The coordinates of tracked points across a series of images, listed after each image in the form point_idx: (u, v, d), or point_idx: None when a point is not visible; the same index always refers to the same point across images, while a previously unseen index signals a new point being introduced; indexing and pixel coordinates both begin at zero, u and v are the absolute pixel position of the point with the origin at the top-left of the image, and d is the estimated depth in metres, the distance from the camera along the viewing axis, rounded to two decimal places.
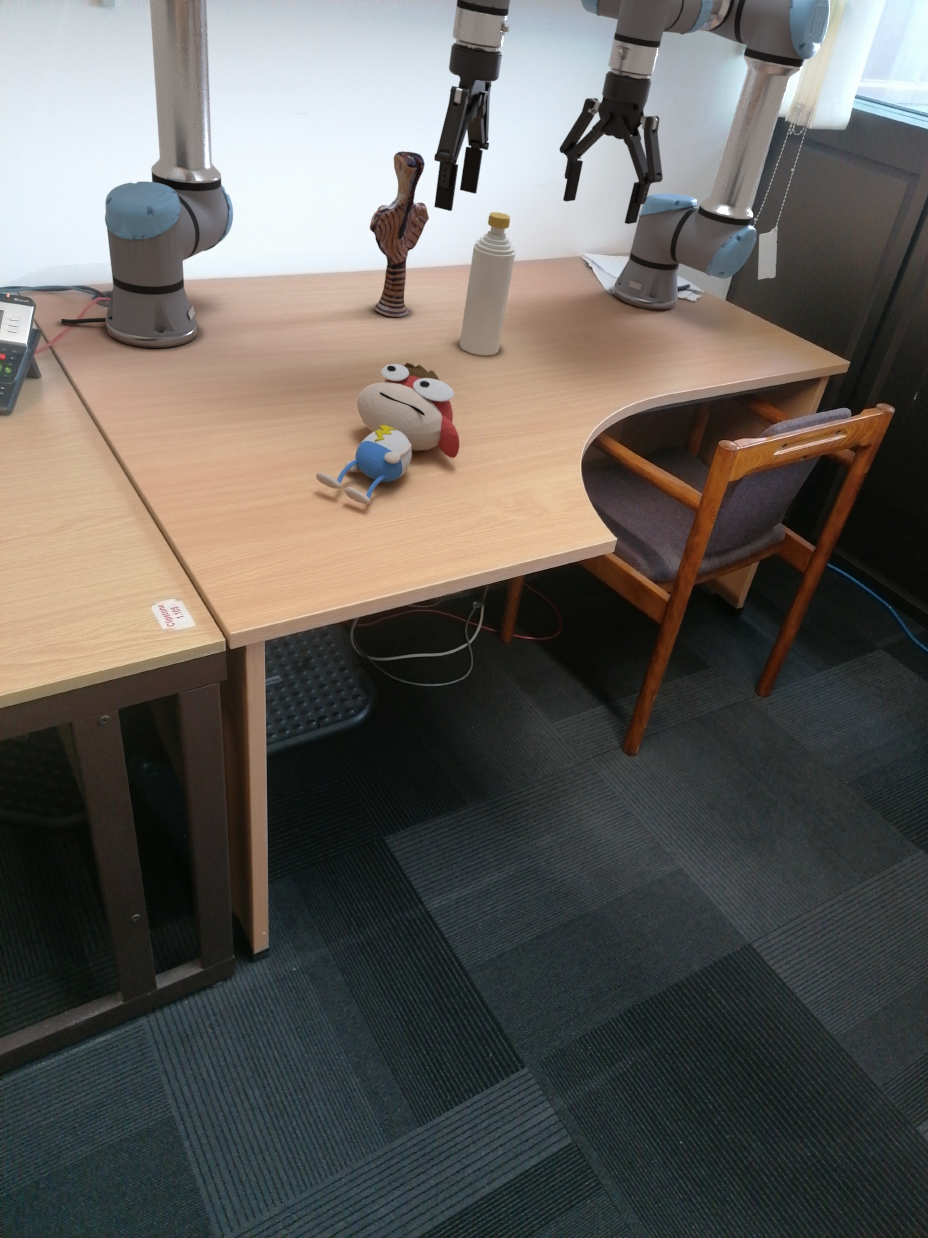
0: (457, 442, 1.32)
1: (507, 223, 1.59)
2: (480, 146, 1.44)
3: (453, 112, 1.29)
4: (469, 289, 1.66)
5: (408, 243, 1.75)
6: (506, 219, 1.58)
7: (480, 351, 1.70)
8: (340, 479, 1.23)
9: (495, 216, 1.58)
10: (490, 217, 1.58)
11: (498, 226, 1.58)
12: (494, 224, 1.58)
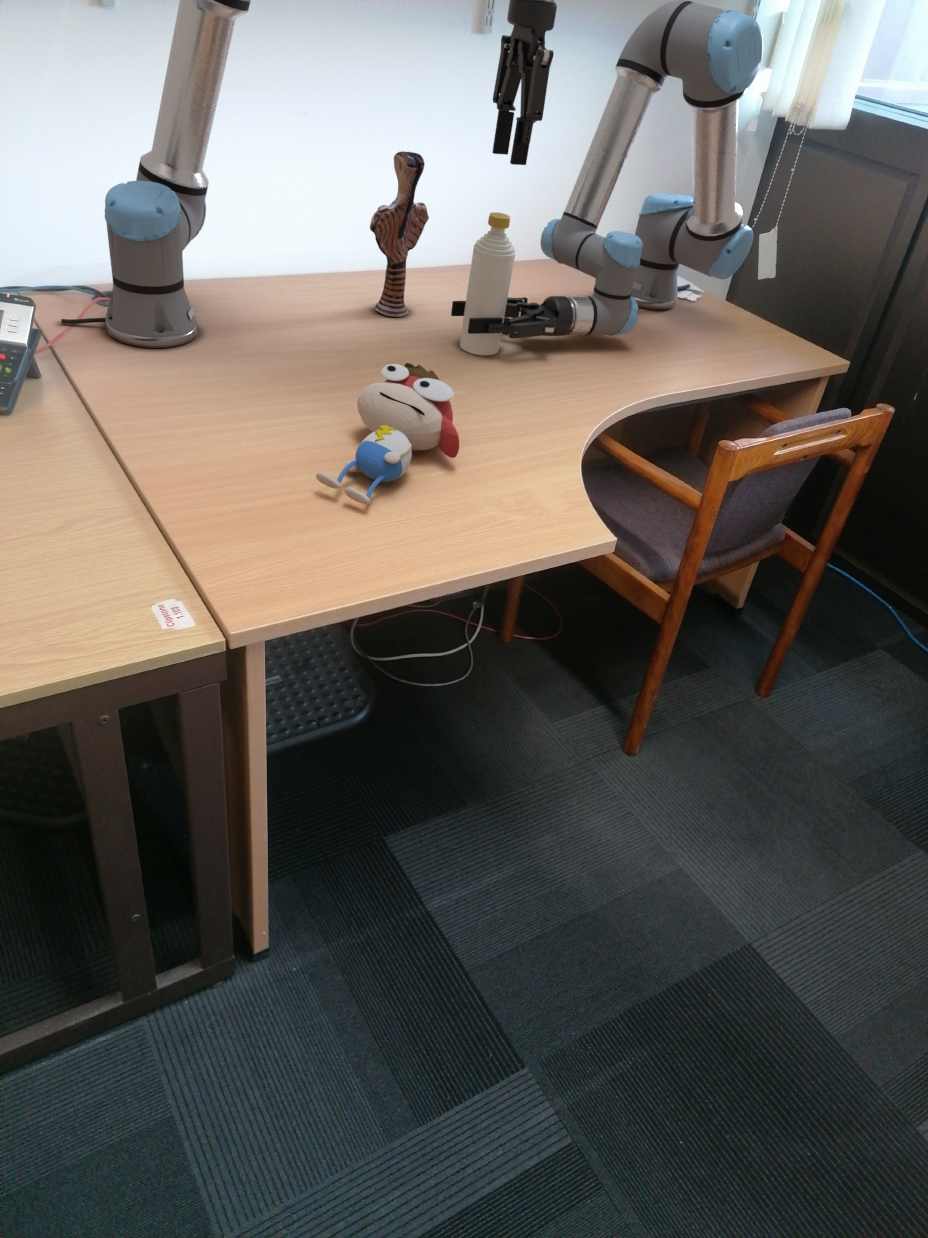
0: (457, 442, 1.32)
1: (507, 223, 1.59)
2: None
3: None
4: (469, 289, 1.66)
5: (408, 243, 1.75)
6: (506, 219, 1.58)
7: (480, 351, 1.70)
8: (340, 479, 1.23)
9: (495, 216, 1.58)
10: (490, 217, 1.58)
11: (498, 226, 1.58)
12: (494, 224, 1.58)
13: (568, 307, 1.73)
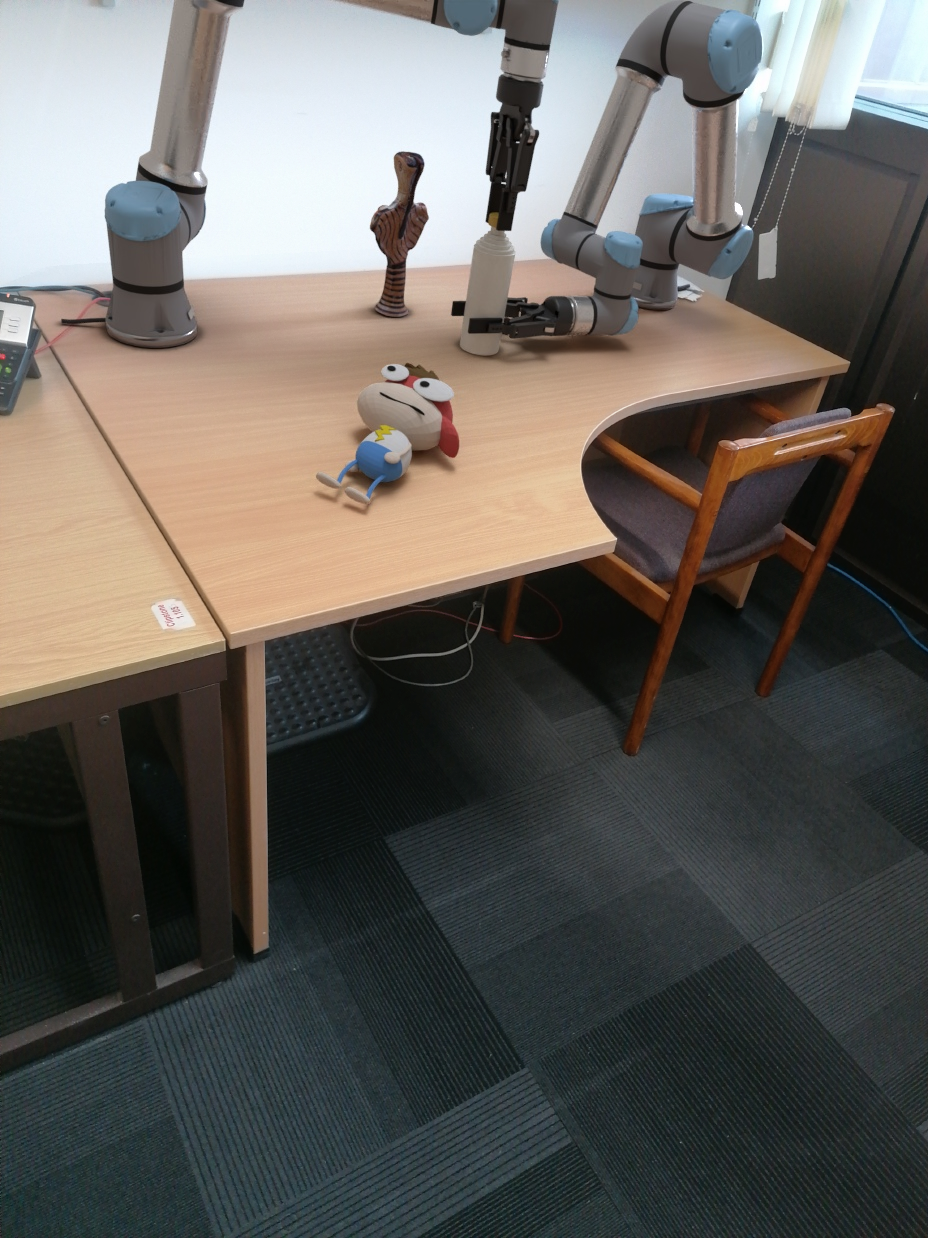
0: (457, 442, 1.32)
1: None
2: None
3: None
4: (469, 289, 1.66)
5: (408, 243, 1.75)
6: None
7: (480, 351, 1.70)
8: (340, 479, 1.23)
9: (495, 216, 1.58)
10: (490, 217, 1.58)
11: None
12: (494, 224, 1.58)
13: (568, 307, 1.73)
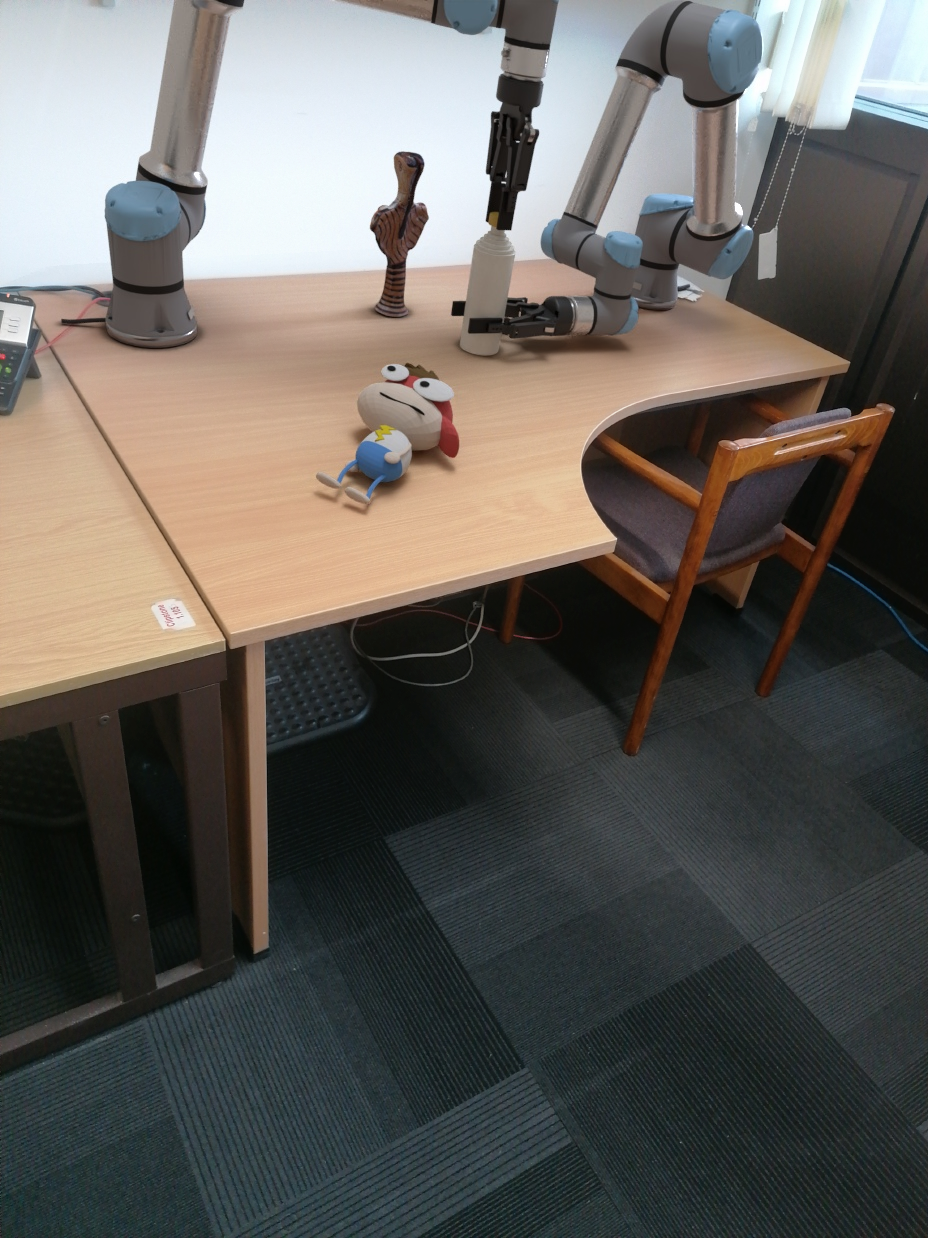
0: (457, 442, 1.32)
1: None
2: None
3: None
4: (469, 289, 1.66)
5: (408, 243, 1.75)
6: None
7: (480, 351, 1.70)
8: (340, 479, 1.23)
9: None
10: None
11: None
12: None
13: (568, 307, 1.73)
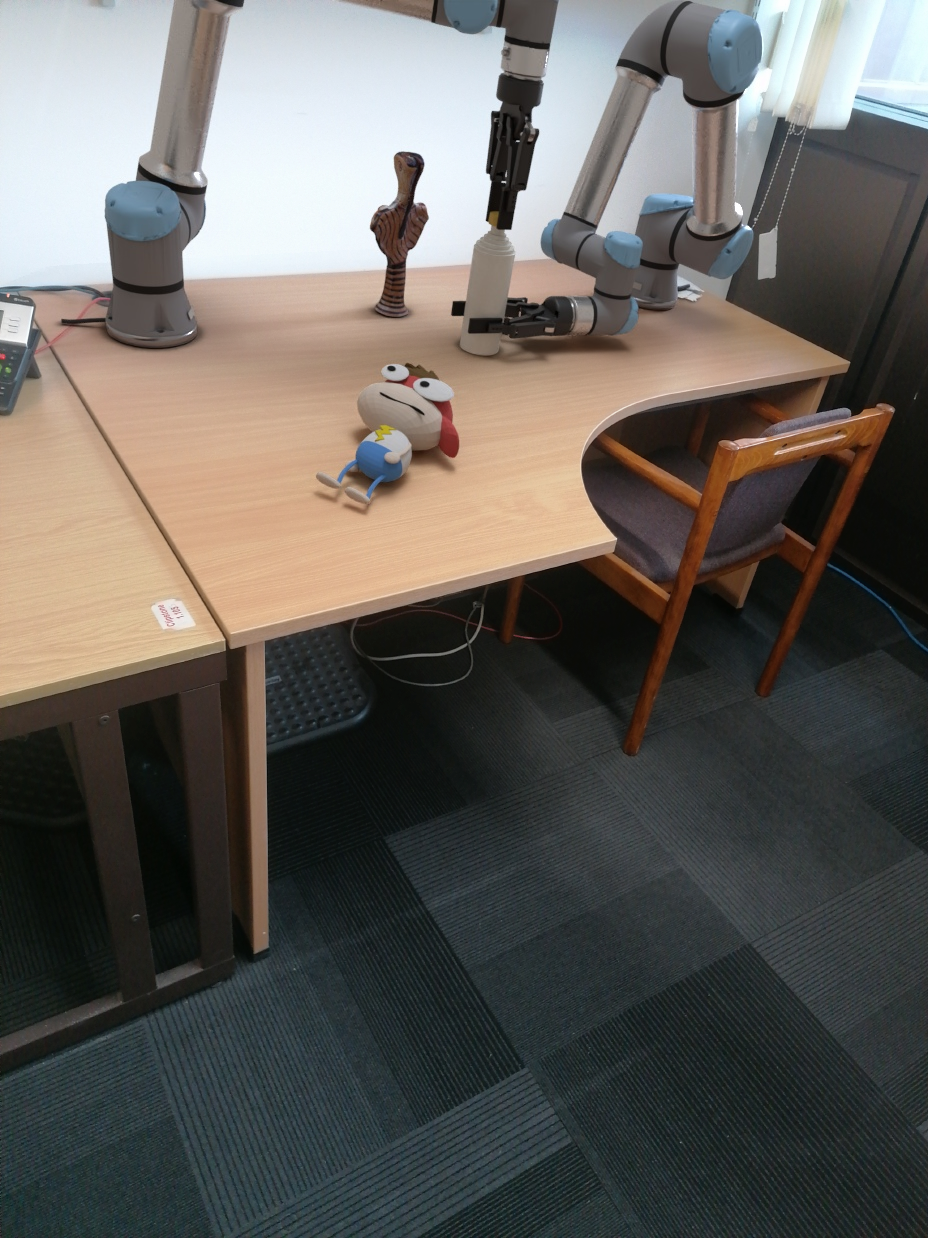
0: (457, 442, 1.32)
1: None
2: None
3: None
4: (469, 289, 1.66)
5: (408, 243, 1.75)
6: None
7: (480, 351, 1.70)
8: (340, 479, 1.23)
9: None
10: None
11: None
12: None
13: (568, 307, 1.73)
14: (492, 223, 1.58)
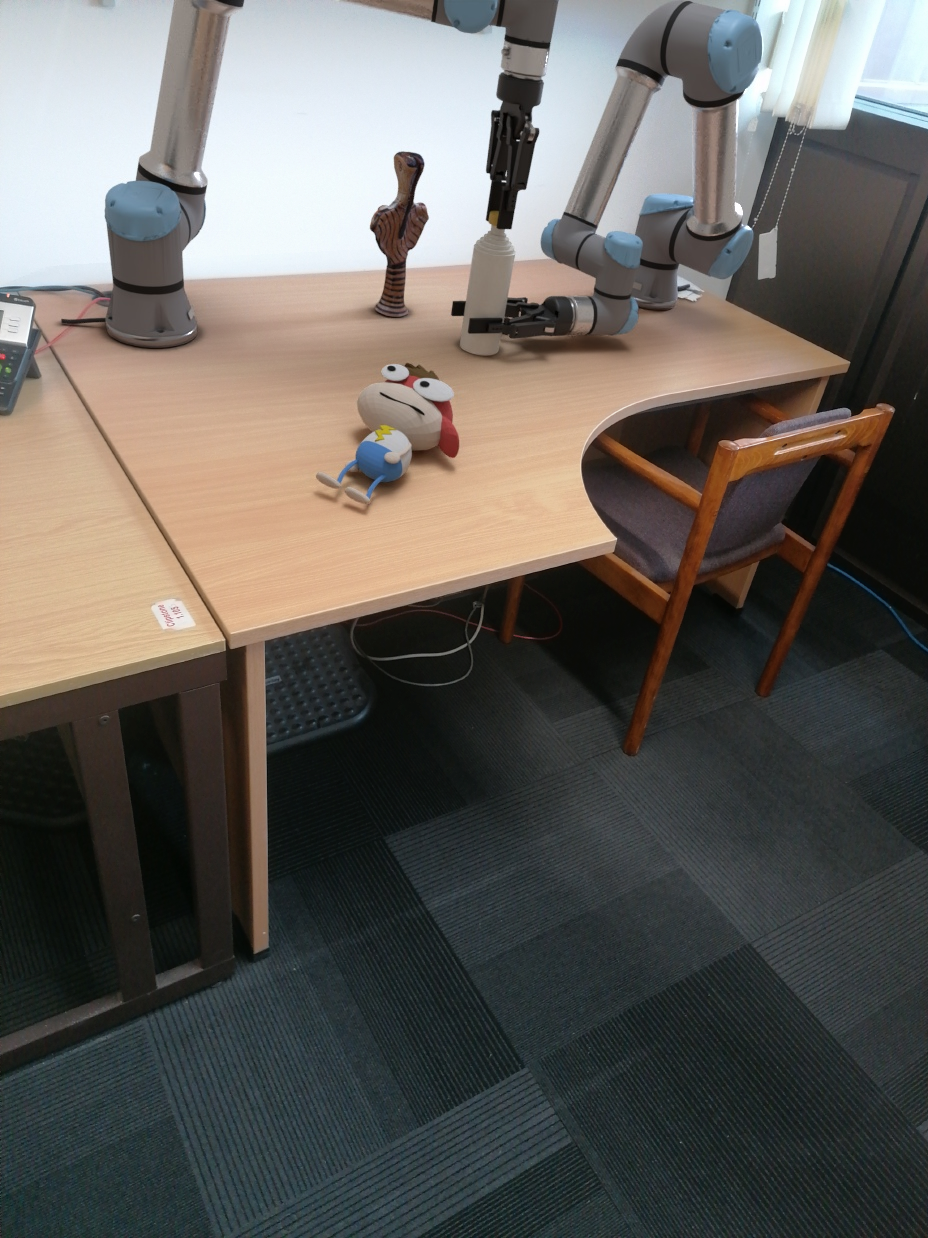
0: (457, 442, 1.32)
1: (491, 219, 1.58)
2: None
3: None
4: (469, 289, 1.66)
5: (408, 243, 1.75)
6: (490, 214, 1.58)
7: (480, 351, 1.70)
8: (340, 479, 1.23)
9: (495, 211, 1.59)
10: None
11: (489, 219, 1.60)
12: None
13: (568, 307, 1.73)
14: None
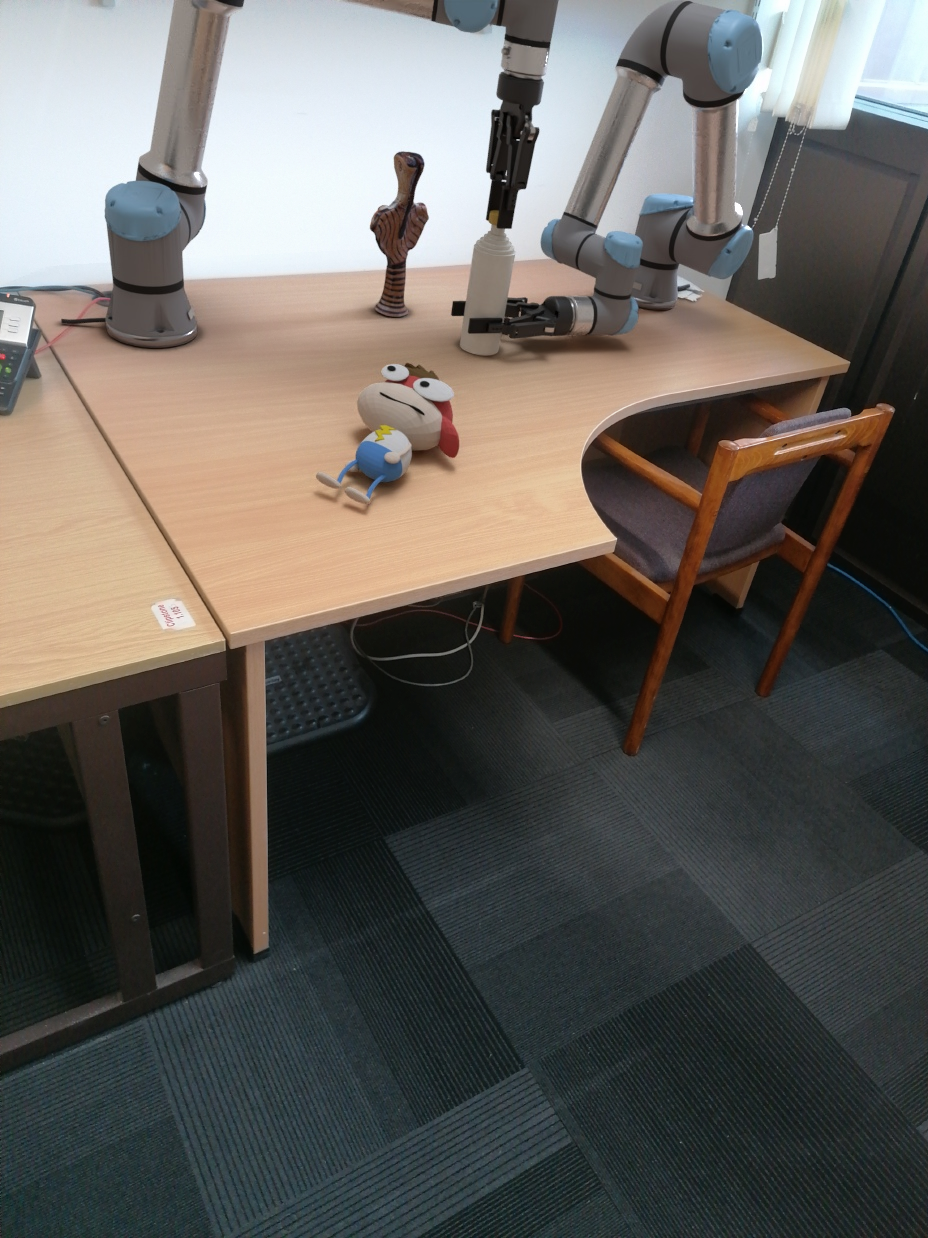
0: (457, 442, 1.32)
1: None
2: None
3: None
4: (469, 289, 1.66)
5: (408, 243, 1.75)
6: None
7: (480, 351, 1.70)
8: (340, 479, 1.23)
9: (493, 213, 1.58)
10: (489, 214, 1.59)
11: (494, 223, 1.58)
12: (491, 221, 1.58)
13: (568, 307, 1.73)
14: None
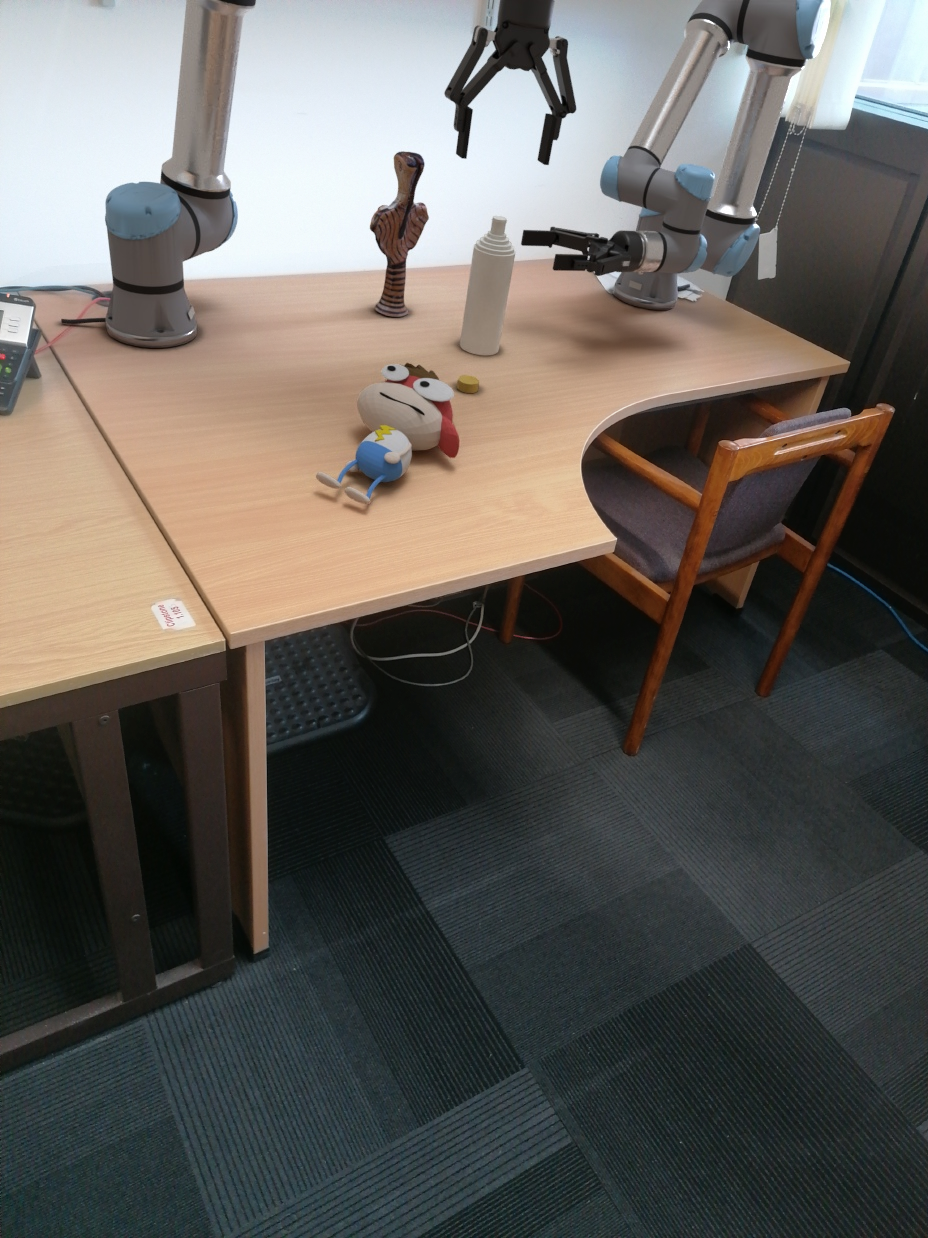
0: (457, 442, 1.32)
1: None
2: (556, 113, 1.33)
3: (469, 51, 1.24)
4: (469, 289, 1.66)
5: (408, 243, 1.75)
6: None
7: (480, 351, 1.70)
8: (340, 479, 1.23)
9: (471, 383, 1.56)
10: (467, 386, 1.56)
11: (476, 390, 1.58)
12: (473, 390, 1.57)
13: (638, 241, 1.70)
14: None
